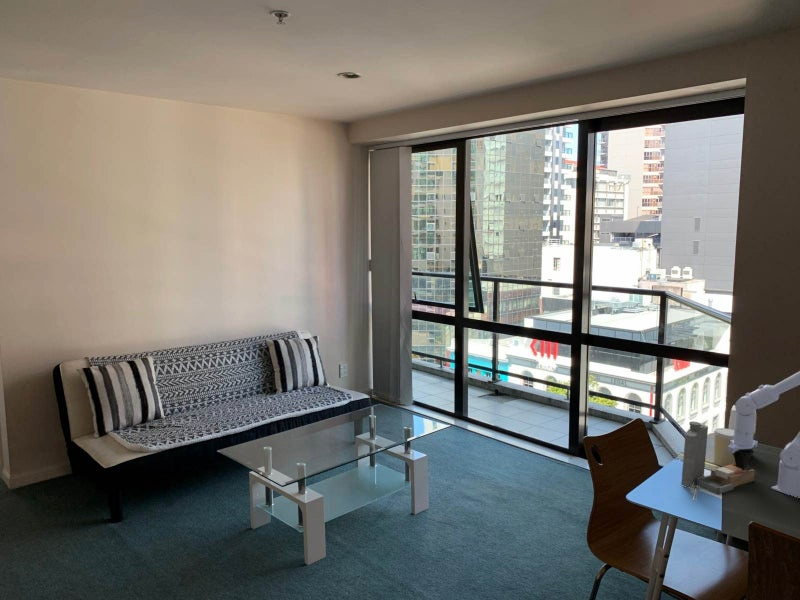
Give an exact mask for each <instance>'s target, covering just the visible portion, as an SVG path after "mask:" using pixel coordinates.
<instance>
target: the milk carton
mask: <svg viewBox="0 0 800 600" xmlns="http://www.w3.org/2000/svg"><path fill="white" fill-rule="evenodd" d="M756 411H757V410H756ZM756 411H754V412H755V418H754V419H755V424H754V434H753V440H755V438H756V427H757V412H756ZM736 412H737V410H736V408H735V404H734V405H732V408H731V409H730V413H729V423H728V429H732V430H734V429H735V418H736ZM755 441H756V440H755ZM753 449H754V447H753V448H752V449H750V450H753ZM750 459H751V457H750V458H749V460H750Z"/></svg>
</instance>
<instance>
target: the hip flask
mask: <svg viewBox="0 0 800 600" xmlns="http://www.w3.org/2000/svg"><path fill="white" fill-rule="evenodd" d="M688 425H689V429H687V431H686V432H685V435H684V447H683V448H684V449H683V459H682V460H683V461H682V471H681V483H680V484H682V485H684V486H686V487H685V488H688V487H690V488H692V487H693V485H692V484H694V483H695V482H696V481H695V480H696V479H698V478H700V477H701V478H702V476H703V477H705V466H706V456H707V443H708V442H707V441H708V434H709V433H708V432H709V431H708V429H709V426H707V425H705V424H702V423H701V422H698V421H689V423H688ZM694 481H695V482H694ZM693 482H694V483H693ZM682 485H681V486H682ZM684 486H683V487H684ZM691 486H692V487H691Z"/></svg>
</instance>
